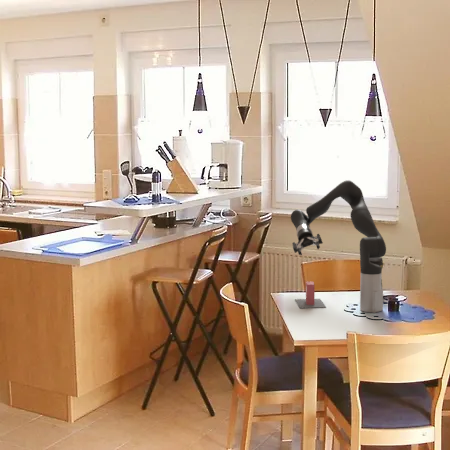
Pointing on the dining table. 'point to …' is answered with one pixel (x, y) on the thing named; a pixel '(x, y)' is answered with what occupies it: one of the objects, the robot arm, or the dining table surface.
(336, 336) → the dining table surface
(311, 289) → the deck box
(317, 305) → the mat
